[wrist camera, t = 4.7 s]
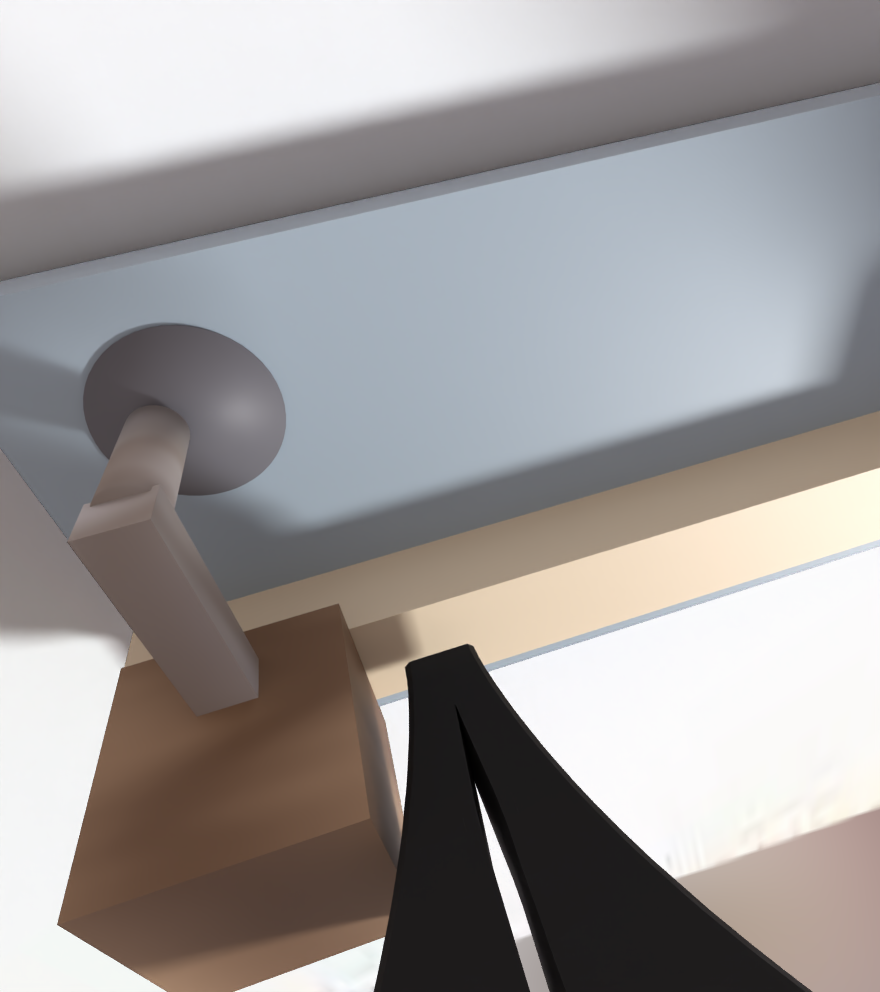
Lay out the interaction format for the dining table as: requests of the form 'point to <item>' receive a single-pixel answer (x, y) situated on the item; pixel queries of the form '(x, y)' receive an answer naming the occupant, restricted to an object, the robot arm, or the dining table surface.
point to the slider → (223, 760)
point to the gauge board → (496, 387)
